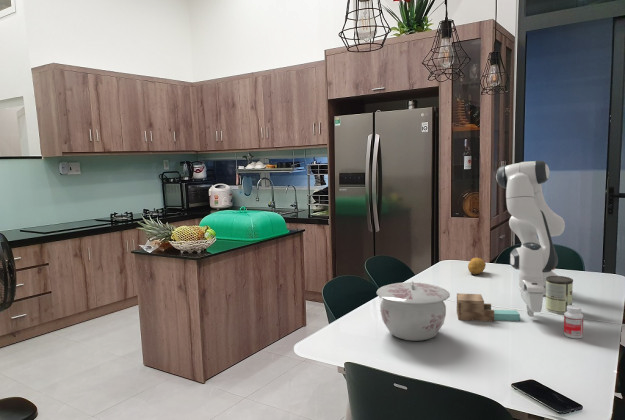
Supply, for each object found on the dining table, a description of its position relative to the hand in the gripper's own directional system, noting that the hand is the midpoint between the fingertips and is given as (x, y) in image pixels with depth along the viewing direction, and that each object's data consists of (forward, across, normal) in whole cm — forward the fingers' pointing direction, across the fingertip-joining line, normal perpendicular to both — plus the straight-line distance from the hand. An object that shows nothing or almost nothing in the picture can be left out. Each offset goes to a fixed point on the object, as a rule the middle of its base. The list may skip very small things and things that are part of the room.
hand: (530, 315), depth 187 cm
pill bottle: (+2, +16, +11) cm, 20 cm away
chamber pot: (+2, +24, -47) cm, 52 cm away
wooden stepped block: (+2, 0, -22) cm, 22 cm away
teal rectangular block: (+2, 0, -11) cm, 11 cm away
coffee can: (+2, -14, +14) cm, 20 cm away
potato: (+2, -76, -13) cm, 77 cm away
